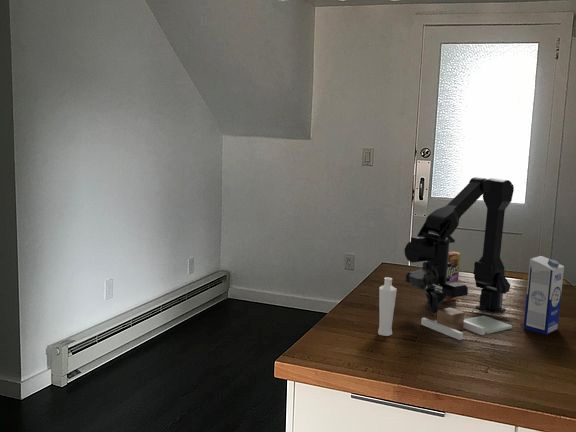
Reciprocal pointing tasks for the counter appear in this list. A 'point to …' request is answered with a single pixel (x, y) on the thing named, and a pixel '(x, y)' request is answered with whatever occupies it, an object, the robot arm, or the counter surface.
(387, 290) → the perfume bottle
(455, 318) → the block
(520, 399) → the counter surface
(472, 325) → the channel
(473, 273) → the robot arm
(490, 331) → the pad
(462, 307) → the counter surface
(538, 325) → the milk carton
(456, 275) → the candy box
